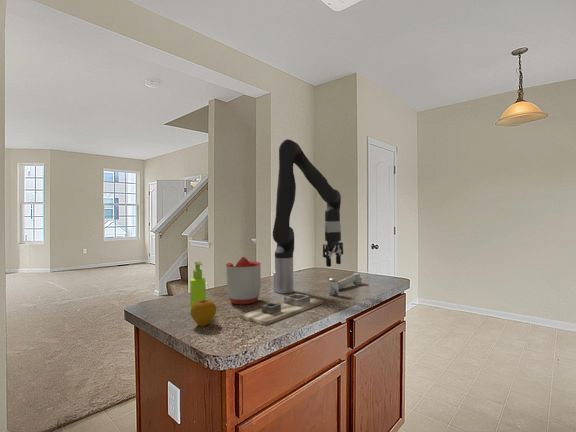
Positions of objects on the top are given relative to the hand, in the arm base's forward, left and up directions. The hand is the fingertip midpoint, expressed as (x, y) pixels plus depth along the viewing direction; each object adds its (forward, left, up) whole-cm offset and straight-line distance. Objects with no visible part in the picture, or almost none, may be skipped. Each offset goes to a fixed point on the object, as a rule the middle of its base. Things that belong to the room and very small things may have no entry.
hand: (333, 265), depth 154 cm
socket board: (-3, -32, -14) cm, 35 cm away
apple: (-14, -63, -15) cm, 66 cm away
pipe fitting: (0, 0, -14) cm, 14 cm away
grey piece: (-4, +20, -15) cm, 25 cm away
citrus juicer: (-27, -33, -15) cm, 45 cm away
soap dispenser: (-29, -55, -15) cm, 64 cm away
